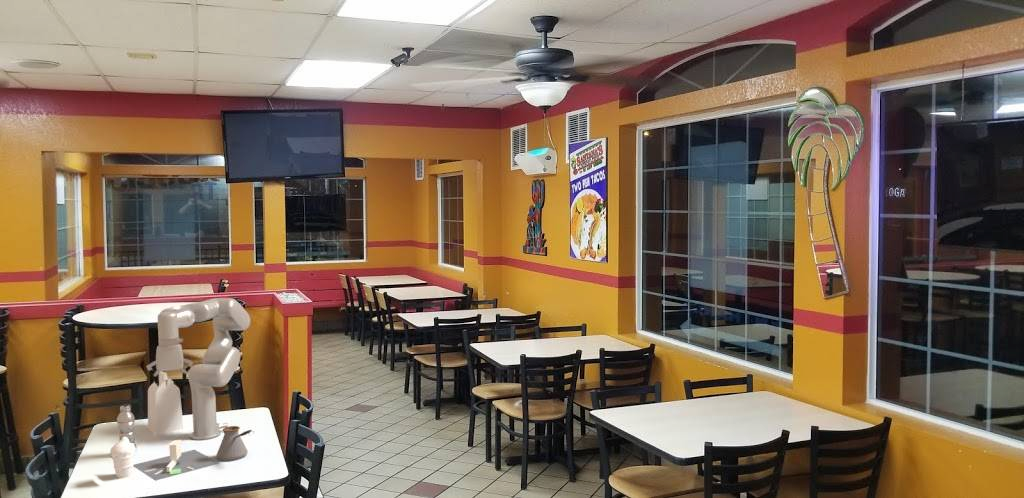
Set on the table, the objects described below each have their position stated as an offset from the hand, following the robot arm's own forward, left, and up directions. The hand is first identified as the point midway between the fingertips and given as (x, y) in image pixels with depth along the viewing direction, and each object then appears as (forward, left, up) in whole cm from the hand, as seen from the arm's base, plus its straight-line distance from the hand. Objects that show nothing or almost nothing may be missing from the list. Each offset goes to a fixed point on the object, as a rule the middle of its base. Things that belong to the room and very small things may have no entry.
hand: (171, 384), depth 306 cm
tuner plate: (+7, +20, -28) cm, 35 cm away
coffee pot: (-12, +33, -28) cm, 45 cm away
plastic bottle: (+14, -12, -28) cm, 34 cm away
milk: (-10, -36, -29) cm, 47 cm away
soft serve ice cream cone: (+25, +18, -28) cm, 42 cm away
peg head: (+9, +23, -27) cm, 36 cm away
